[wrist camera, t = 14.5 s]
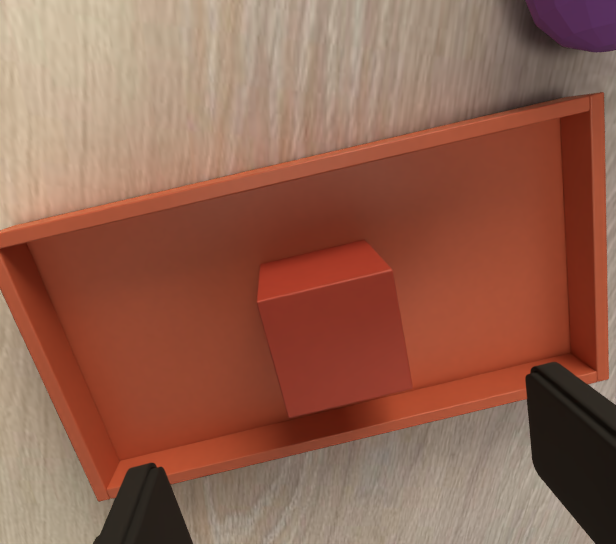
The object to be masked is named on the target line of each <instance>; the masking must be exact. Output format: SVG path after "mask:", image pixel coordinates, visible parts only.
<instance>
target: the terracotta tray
mask: <svg viewBox="0 0 616 544" xmlns="http://www.w3.org/2000/svg"><path fill="white" fill-rule="evenodd" d="M359 240H366V241H367V243H368V244H369V245H370V246H371V247H372V248H373V249H374V250H375V251H376V252H377V253H378V254H379V256H380V257H381V258H382V259H383V260H384V261H385V262H386V263H387V264H388V265H389V266H390V268H391V269H392V270H393V273H394V279H395V285H396V291H397V296H398V302H399V308H400V314H401V320H402V325H403V331H404V337H405V343H406V349H407V355H408V360H409V366H410V372H411V378H412V384H413V388H412V389H409V390H405V391H401V392H397V393H393V394H389V395H384V396H380V397H376V398H372V399H368V400H364V401H359V402H355V403H351V404H347V405H343V406H339V407H334V408H330V409H326V410H322V411H318V412H314V413H309V414H305V415H301V416H297V417H293V418H289V417H288V416H287V412H286V409H285V405H284V401H283V398H282V394H281V391H280V387H279V383H278V380H277V376H276V372H275V369H274V365H273V362H272V358H271V354H270V351H269V347H268V344H267V340H266V336H265V333H264V329H263V326H262V322H261V318H260V315H259V311H258V308H257V304H256V301H257V290H258V280H259V269H260V264H262V263H266V262H270V261H275V260H279V259H283V258H287V257H292V256H296V255H300V254H304V253H308V252H313V251H317V250H321V249H325V248H330V247H334V246H338V245H342V244H347V243H351V242H355V241H359ZM0 289H1V291H2V294H3V296H4V298H5V300H6V302H7V304H8V307H9V309H10V311H11V313H12V315H13V317H14V320H15V322H16V324H17V326H18V328H19V330H20V333H21V335H22V337H23V339H24V341H25V343H26V346H27V348H28V350H29V352H30V354H31V356H32V359H33V361H34V363H35V365H36V367H37V370H38V372H39V374H40V376H41V378H42V380H43V383H44V385H45V387H46V389H47V391H48V393H49V396H50V398H51V400H52V402H53V404H54V406H55V409H56V411H57V413H58V415H59V417H60V419H61V422H62V424H63V426H64V428H65V430H66V432H67V435H68V437H69V439H70V441H71V443H72V445H73V448H74V450H75V452H76V454H77V456H78V458H79V461H80V463H81V465H82V467H83V469H84V472H85V474H86V476H87V478H88V480H89V482H90V485H91V487H92V489H93V491H94V493H95V495H96V498H97V500H98V501H103V500H107V499H110V498H111V499H112V498H116V496H117V493H118V491H119V489H120V486H121V484H122V482H123V479H124V477H125V475H126V472H127V471H128V469H129V468H131V467H135V466H139V465H143V464H147V463H151V462H152V463H154V464H155V465H156V466H157V467H163V468H164V470H165V472H166V475H167V477H168V480H169V482H170V485H171V484H175V483H179V482H183V481H187V480H191V479H196V478H200V477H204V476H208V475H212V474H216V473H221V472H225V471H229V470H233V469H237V468H241V467H245V466H250V465H254V464H258V463H262V462H266V461H270V460H275V459H279V458H283V457H287V456H291V455H295V454H300V453H304V452H308V451H312V450H316V449H320V448H325V447H329V446H333V445H337V444H341V443H345V442H350V441H354V440H358V439H362V438H366V437H370V436H375V435H379V434H383V433H387V432H391V431H395V430H400V429H404V428H408V427H412V426H416V425H420V424H424V423H429V422H433V421H437V420H441V419H445V418H449V417H454V416H458V415H462V414H466V413H470V412H474V411H479V410H483V409H487V408H491V407H495V406H499V405H504V404H508V403H512V402H516V401H520V400H524V399H527V393H526V382H525V377H526V375H527V374H530V370H531V368H532V367H534V366H538V365H542V364H546V363H550V362H557V363H559V364H561V365H562V366H563V367H565V368H566V369H567V370H569V371H570V372H571V373H573V374H574V375H576V376H577V377H578V378H580V379H581V380H582V381H584V382H585V383H586V384H591V383H595V382H597V381H603V380H607V379H609V363H608V303H607V242H606V181H605V120H604V93H603V92H600V93H593V94H585V95H578V96H571V97H564V98H559V99H555V100H551V101H546V102H542V103H538V104H534V105H529V106H525V107H521V108H516V109H512V110H508V111H504V112H499V113H495V114H491V115H486V116H482V117H478V118H474V119H469V120H465V121H461V122H456V123H452V124H448V125H444V126H439V127H435V128H431V129H426V130H422V131H418V132H414V133H409V134H405V135H401V136H396V137H392V138H388V139H384V140H379V141H375V142H371V143H366V144H362V145H358V146H354V147H349V148H345V149H341V150H336V151H332V152H328V153H324V154H319V155H315V156H311V157H306V158H302V159H298V160H294V161H289V162H285V163H281V164H276V165H272V166H268V167H264V168H259V169H255V170H251V171H246V172H242V173H238V174H234V175H229V176H225V177H221V178H216V179H212V180H208V181H204V182H199V183H195V184H191V185H186V186H182V187H178V188H174V189H169V190H165V191H161V192H156V193H152V194H148V195H143V196H139V197H135V198H131V199H126V200H122V201H118V202H113V203H109V204H105V205H101V206H96V207H92V208H88V209H83V210H79V211H75V212H71V213H66V214H62V215H58V216H53V217H49V218H45V219H41V220H36V221H32V222H28V223H23V224H19V225H15V226H12V227H9V228H6V229H3V230H0Z"/></svg>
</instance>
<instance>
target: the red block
mask: <svg viewBox="0 0 616 544" xmlns="http://www.w3.org/2000/svg"><path fill="white" fill-rule="evenodd" d="M256 304H257V308H258V311H259V315H260V318H261V322H262V326H263V329H264V333H265V336H266V340H267V344H268V347H269V351H270V354H271V358H272V362H273V365H274V369H275V372H276V376H277V380H278V383H279V387H280V391H281V394H282V398H283V401H284V405H285V409H286V412H287V416H288V417H289V418H293V417H297V416H301V415H305V414H309V413H314V412H318V411H322V410H326V409H330V408H334V407H339V406H343V405H347V404H351V403H355V402H359V401H364V400H368V399H372V398H376V397H380V396H384V395H389V394H393V393H397V392H401V391H405V390H409V389H412V388H413V384H412V378H411V372H410V366H409V360H408V355H407V349H406V343H405V337H404V331H403V325H402V320H401V314H400V308H399V302H398V296H397V291H396V285H395V279H394V273H393V270H392V269H391V268H390V266H389V265H388V264H387V263H386V262H385V261H384V260H383V259H382V258H381V257H380V256H379V254H378V253H377V252H376V251H375V250H374V249H373V248H372V247H371V246H370V245H369V244H368V243H367V241H366V240H359V241H355V242H351V243H347V244H342V245H338V246H334V247H330V248H325V249H321V250H317V251H313V252H308V253H304V254H300V255H296V256H292V257H287V258H283V259H279V260H275V261H270V262H266V263H262V264H260V269H259V280H258V290H257V301H256Z"/></svg>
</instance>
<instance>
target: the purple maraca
mask: <svg viewBox="0 0 616 544" xmlns="http://www.w3.org/2000/svg"><path fill="white" fill-rule="evenodd" d="M525 1H526V4H527V6H528V8H529V11H530V13H531V16H532V18H533V20H534V23H535V25H536V26H537V27H538V28H540V29H541V30H542V31H543V32H545V33H546V34H547V35H548V36H550V37H551V38H552V39H553V40H555V41H556V42H557V43H558V44H560V45H561V46H562V47H567V48H573V49H578V50H584V51H589V52H607V51H613V50H616V0H525Z"/></svg>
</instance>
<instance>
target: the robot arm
mask: <svg viewBox="0 0 616 544" xmlns="http://www.w3.org/2000/svg"><path fill="white" fill-rule="evenodd" d="M525 382H526V393H527V405H528V416H529V427H530V439H531V450H532V460H533V464H534V467H535V470H536V471H537V473H538V475H539V476H540V477H541V479H542V480H543V481H544V482H545V483H546V485H547V486H548V487H549V488H550V490H551V491H552V492H553V493H554V494H555V496H556V497H557V498H558V499H559V500H560V502H561V503H562V504H563V505H564V506H565V508H566V509H567V510H568V511H569V512H570V514H571V515H572V516H573V517H574V518H575V520H576V521H577V522H578V523H579V524H580V526H581V527H582V528H583V529H584V530H585V532H586V533H587V534H588V535H589V536H590V538H591V539H592V540H593V541H594V543H595V544H616V405H615V404H613V403H612V402H611V401H609V400H608V399H607V398H605V397H604V396H603V395H601V394H600V393H598V392H597V391H596V390H594V389H593V388H592V387H590V386H589V385H588V384H586V383H585V382H584V381H582V380H581V379H580V378H578V377H577V376H576V375H574V374H573V373H571V372H570V371H569V370H567V369H566V368H565V367H563V366H562V365H561V364H559V363H557V362H550V363H546V364H542V365H538V366H534V367H532V368H531V370H530V374H527V375H526V377H525ZM93 544H193V542H192V539H191V537H190V534H189V532H188V529H187V527H186V524H185V521H184V519H183V516H182V514H181V511H180V508H179V506H178V503H177V501H176V498H175V495H174V493H173V490H172V488H171V485H170V482H169V480H168V477H167V475H166V472H165V470H164V468H163V467H157V466H156V465H155V464H154V463H152V462H151V463H147V464H143V465H139V466H135V467H131V468H129V469H128V471H127V472H126V475H125V477H124V479H123V482H122V484H121V486H120V489H119V491H118V493H117V496H116V498H115V501H114V503H113V505H112V508H111V510H110V512H109V515H108V517H107V519H106V522H105V524H104V526H103V529H102V531H101V533H100V535H99V536H98V537H97V538H96V539H95V541H94V542H93Z"/></svg>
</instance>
